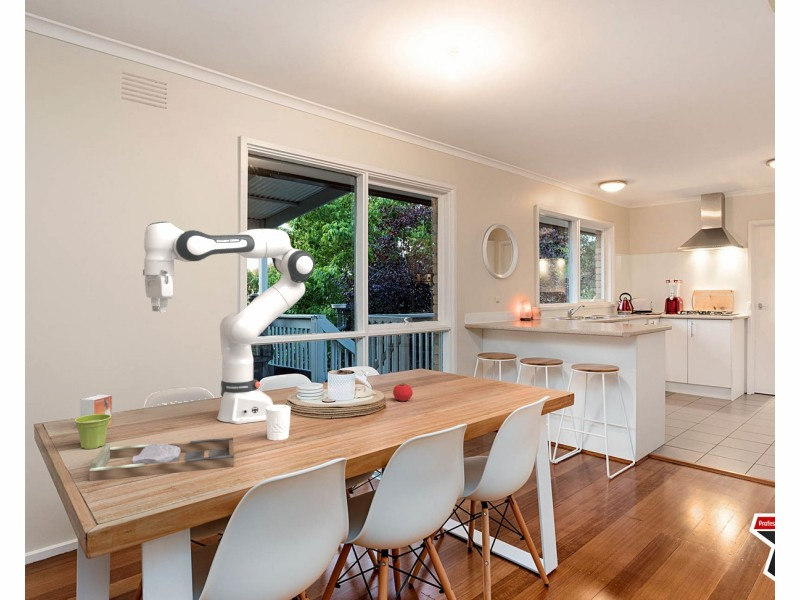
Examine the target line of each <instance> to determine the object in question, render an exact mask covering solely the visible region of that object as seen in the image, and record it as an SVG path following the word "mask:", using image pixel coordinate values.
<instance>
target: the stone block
mask: <svg viewBox="0 0 800 600" xmlns="http://www.w3.org/2000/svg"><path fill="white" fill-rule="evenodd" d="M150 444H151V445H148V446H146V447H145V448H144V449H143V450H142V451H141V453H140V454H139V455H137V456H134V457H131V458H132V459H131V464H140V463H144V464H154V463H165V462H175V461H178V460H179V461H180V456H181V453H182V452H181V450H180V448H179V447H177V446H173V445H168V444H169V443H150Z"/></svg>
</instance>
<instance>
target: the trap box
mask: <svg viewBox="0 0 800 600" xmlns="http://www.w3.org/2000/svg"><path fill="white" fill-rule="evenodd" d="M151 444H152V443H150V444H137V445H123V446H113V447H111V444H105V445H104V446H102V448H101V450H99V452H98V454H97V455H96V456H95V457H94V459H93V461H91V463H90V468H89V482H93V481H104V480H114V479H123V478H134V477H143V476H144V477H145V476H153V475H163V474H172V473H183V472H193V471H194V472H195V471H203V470H215V469H222V468H232V467H233V468H234V467H235V464H234V463H235V454H234V453H235V451H234V437H223V438H209V439H208V438H207V439H198V440H197V439H196V440H190V441H187V442H186V441H185V442H176V443H167V444H168V445H173V446H177V447H179V448H180V450H181V453H185V457H184V459H183V460H179V461H178V460H177V461H175V462H165V463H154V464H144V463H140V464H132V463H130V464H121V465H109V466H106V465H107V464H108V463H109V461H110V459H111V460H112V459H123V458H133V457H134V456H137V455H139V454H140V453H141V451H142V450H143V449H144V448H145V447H146V446H148V445H151ZM205 451H209V457H208V456H206V457H205V453H206V452H205Z"/></svg>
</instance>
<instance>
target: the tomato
mask: <svg viewBox="0 0 800 600" xmlns="http://www.w3.org/2000/svg"><path fill="white" fill-rule="evenodd" d="M392 394H393V397H394V398H395V400H397V401H399V402H406V401H409V400H410V399H411V398H412V396H413V394H414V392H413V389H412V386H411V385H410V384H407V383H405V382H402V383H398V384H397V385H395V386H394V388H393V390H392Z"/></svg>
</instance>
